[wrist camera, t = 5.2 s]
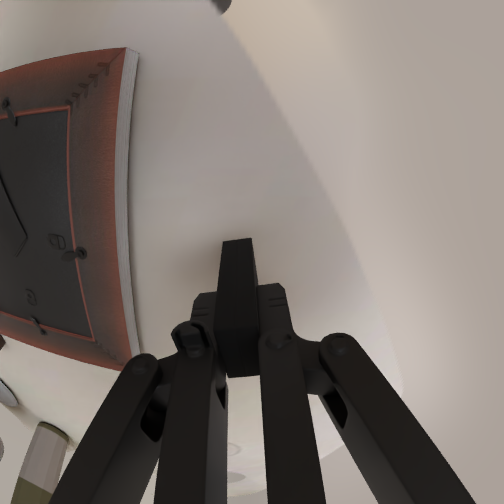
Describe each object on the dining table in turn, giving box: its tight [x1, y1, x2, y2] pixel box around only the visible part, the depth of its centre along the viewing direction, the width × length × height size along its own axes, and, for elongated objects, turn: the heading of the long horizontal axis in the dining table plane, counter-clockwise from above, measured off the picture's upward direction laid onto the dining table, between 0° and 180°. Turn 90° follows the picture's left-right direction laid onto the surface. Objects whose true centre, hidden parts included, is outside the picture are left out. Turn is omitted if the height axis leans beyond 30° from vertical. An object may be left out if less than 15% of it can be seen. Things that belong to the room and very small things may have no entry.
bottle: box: [11, 423, 69, 504], centre depth 20 cm, size 7×7×30 cm
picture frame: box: [0, 47, 140, 371], centre depth 15 cm, size 16×2×22 cm
